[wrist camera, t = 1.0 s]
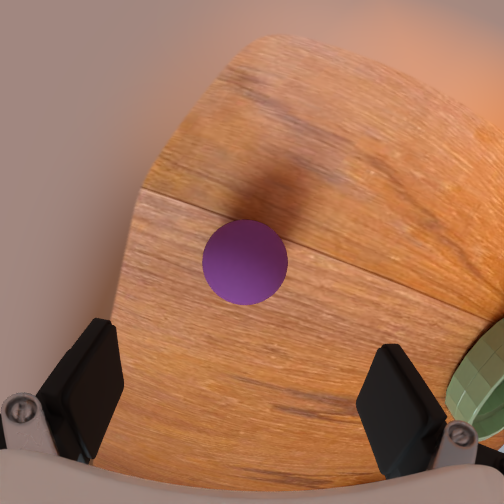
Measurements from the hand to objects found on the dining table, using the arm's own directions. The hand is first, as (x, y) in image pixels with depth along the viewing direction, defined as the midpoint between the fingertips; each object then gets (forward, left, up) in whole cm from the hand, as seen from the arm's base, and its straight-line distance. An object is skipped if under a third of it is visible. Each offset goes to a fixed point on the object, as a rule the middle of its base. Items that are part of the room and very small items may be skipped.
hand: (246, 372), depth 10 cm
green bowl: (+30, +14, -11) cm, 35 cm away
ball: (0, 0, -11) cm, 11 cm away
